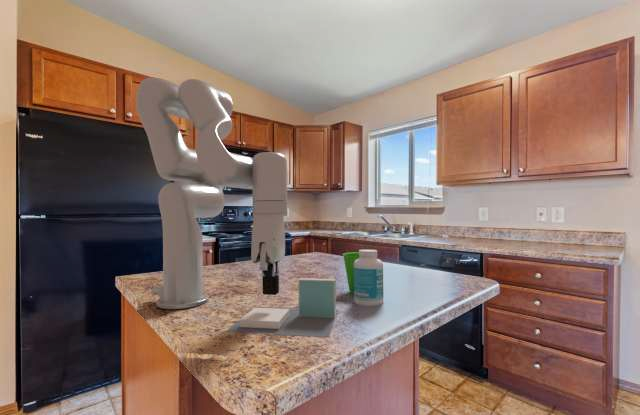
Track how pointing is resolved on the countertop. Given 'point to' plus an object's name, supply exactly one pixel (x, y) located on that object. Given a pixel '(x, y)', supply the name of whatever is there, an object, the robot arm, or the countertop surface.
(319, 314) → the tile
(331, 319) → the mat
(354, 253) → the cup
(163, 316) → the countertop surface
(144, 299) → the countertop surface
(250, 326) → the tile
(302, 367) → the countertop surface
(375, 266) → the pill bottle
